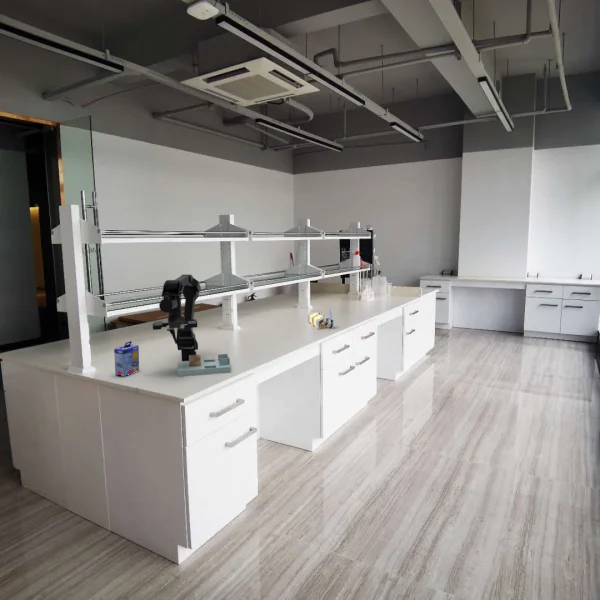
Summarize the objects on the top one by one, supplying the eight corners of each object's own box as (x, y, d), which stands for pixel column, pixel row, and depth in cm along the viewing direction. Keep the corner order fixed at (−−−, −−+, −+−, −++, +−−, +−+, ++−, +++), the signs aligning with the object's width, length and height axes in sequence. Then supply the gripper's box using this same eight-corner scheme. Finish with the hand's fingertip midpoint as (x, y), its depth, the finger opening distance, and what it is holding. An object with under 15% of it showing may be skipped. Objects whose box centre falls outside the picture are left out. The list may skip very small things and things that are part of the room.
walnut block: (189, 366, 200) (189, 358, 199) (189, 363, 204) (189, 355, 204) (201, 365, 201) (200, 357, 200) (200, 363, 206) (200, 354, 205)
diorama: (333, 329, 291) (333, 309, 289) (318, 330, 288) (318, 310, 286) (321, 322, 314) (321, 303, 313) (307, 323, 312) (307, 304, 310)
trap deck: (177, 376, 194) (177, 364, 193) (178, 366, 208) (178, 355, 208) (230, 372, 199) (230, 360, 198) (227, 363, 214) (227, 352, 213)
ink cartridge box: (124, 377, 194) (122, 344, 192) (114, 376, 196) (112, 343, 194) (140, 371, 203) (138, 339, 201) (130, 369, 205) (128, 338, 203)
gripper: (150, 312, 187) (152, 349, 190) (196, 310, 192) (198, 346, 194) (152, 308, 198) (154, 343, 200) (196, 306, 202) (197, 340, 205)
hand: (176, 343), depth 199 cm, fingers closed
